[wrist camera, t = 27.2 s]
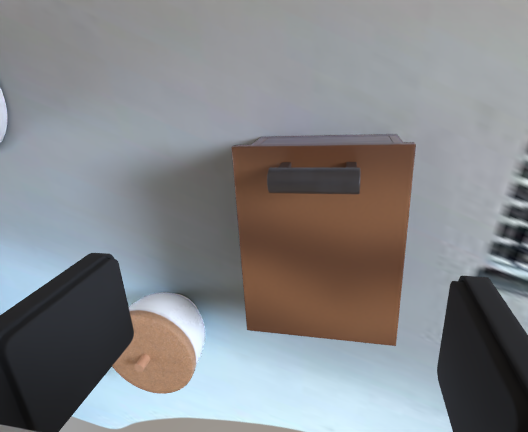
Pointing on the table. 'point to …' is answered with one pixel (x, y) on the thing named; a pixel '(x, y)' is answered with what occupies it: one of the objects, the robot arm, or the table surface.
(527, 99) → the table surface
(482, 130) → the table surface
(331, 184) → the lid
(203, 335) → the trinket box
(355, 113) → the table surface
